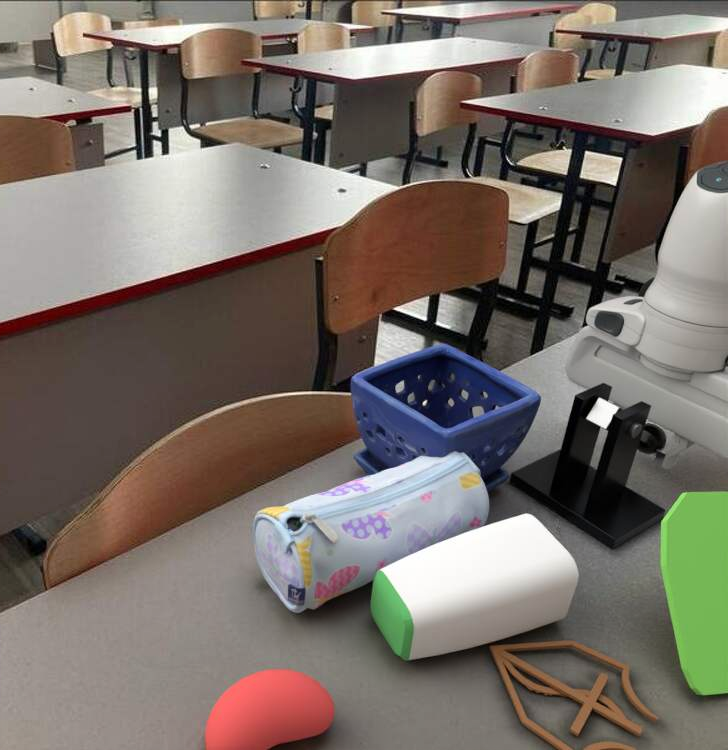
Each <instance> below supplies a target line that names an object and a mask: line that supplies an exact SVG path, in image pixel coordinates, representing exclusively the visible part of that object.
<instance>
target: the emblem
mask: <svg viewBox="0 0 728 750" xmlns="http://www.w3.org/2000/svg"><path fill="white" fill-rule="evenodd" d="M563 648H571V649H573V650H576V651H578V652H580V653H582V654H585V655H587V656H589V657H590V658H593V659H595V660H597V661H599V662H602V663H603V664H606V665H608V666H611V667H612V668H615V669H616V670H619V671H621V677H620V679H621V685H622V688H623V691H624V693H625V695H626V697H627V698H628V700H629V701H630V703H631V704H632V705H633V706H634V707H635V708H636V710H638V711H639V712H640V713H641V714H643V716H645V717H646V718H648V719H649V720H652V721H653V722H656V723H657V722H658V720H659V717H658V716H657V715H656V714H654V713H653V712H652V711H651V710H649V709H648V708H647V707H646V706H645V705H644V704H643V703H642V702H641V700H640V698H638V696H637V695H636V693H635V691H634V690H633V688H632V685H631V682H630V668H631V666H630V665H628V664H625V663H623V662H621V661H618V660H617V659H614V658H612V657H610V656H608V655H606V654H604V653H601V652H600V651H597V650H595V649H594V648H590V647H588V646H586V645H584V644H582V643H580V642H577V641H575V640H573V639H568V640H555V641H541V642H540V641H539V642H526V643H525V642H524V643H511V644H498V645H490V646H489V651H490V653H491V655H492V658H493V660H494V662H495V664H496V667H497V670H498V671H499V674H500V676H501V678H502V681H503V683H504V686H505V688H506V690H507V692H508V695H509V697H510V700H511V702H512V704H513V707H514V709H515V712H516V713H517V715H518V719H519V720H520V723H521V725H522V726H523V727H525V728H527V729H528V730H529V731H531V732H532V733H534V734H535V735H537V736H539V737H540V738H541V739H543V740H544V741H545V742H547V743H548V744H550V746H551V745H552V747H554V748H556V749H557V750H574V748H571V747H570V746H569V745H567V744H566V743H564V742H563V741H562V740H560V739H558V738H557V737H556V736H555V735H553V734H551V733H550V732H549V731H547V730H545V729H544V728H543V727H541V726H540V725H539V724H537V723H535V722H534V721H532V720H531V719H529V718H528V717H527V714H526V712H525V710H524V707H523V705H522V703H521V701H520V699H519V696H518V694H517V692H516V690H515V687H514V684H513V682H512V680H511V678H510V675H509V673H510V674H511V675H512V677H514V678H515V679H516V680H517V681H518V682H519V683H520V684H521V685H523V686H525V688H527V689H528V690H529V691H531V692H532V691H534V692H536V693H537V694H543V695H544V696H550V697H552V696H561V697H563V698H565V697H567V698H570V699H572V700H574V701H576V702H577V703H579V704H580V705H582V706H581V708H580V709H579V712H578V714H577V715H576V717H575V719H574V721H573V722H572V725H571V726H570V728H569V733H571V734H573V735H574V736H576V737H578V736H580V733H581V731H582V729H583V727H584V726H585V724H586V722H587V720H588V718H589V716H590V714H591V712H592V711H593V712H594V713H596V714H598V715H600V716H603V717H604V718H606V719H607V720H609V721H610V722H612V723H614V724H617V725H618V726H619V727H621V728H623V729H625V730H626V731H628V732H630V733H631V734H634V735H635V736H637V737H640V736H641V734H642V732H643V729H644V727H642V726H640V725H639V724H637V723H635V722H634V721H632V720H629V719H628V718H627V717H626V716H625V714H624V712H623V711H622V709H621V708H620V707H618V705H617V704H616V703H615V702H614V701H613V700H612V699H611V698H609V697H607V696H605V695H604V694H602V692H603V689H604V688H605V687H606V684H607V683H608V680H609V679H610V677H609V676H608V675H607V674H605V673H603V672H600V673H599V675H598V677H597V679H596V680H595V682H594V684H593V686H592V688H591V690H588V689H580V688H572V687H570V686H569V685H567V684H565V683H563V682H562V681H560V680H557V679H556V678H554V677H552V676H551V675H549V674H547V673H546V672H544V671H542V670H540V669H538V668H536V667H535V666H533V665H531V664H529V663H527V662H526V661H524V660H522V659H520V658H519V657H518V656H515V655H513V654H512V653H510V652H524V651H536V650H537V651H538V650H550V649H563ZM515 667H516V668H517V669H516V668H515ZM518 669H519V670H521V671H522V672H525V673H526V674H528V675H529V676H531V677H533V678H535V679H537V680H538V681H540V682H542V683H543V684H546V685H547V686H544V685H540V684H538V683H534V682H533V681H531V680H530V679H528V678H526V677H525V676H523V675H522V673H520V672H519V671H518ZM507 671H508V672H509V673H508V672H507ZM548 686H549V687H548ZM597 701H598V702H597ZM602 704H603V705H602ZM582 750H638V749H637V748H635V747H633V746H630V745H629V744H625V743H622V742H615V741H599V742H593V743H592V744H589V745H587V746H586V747H584V748H583V749H582Z"/></svg>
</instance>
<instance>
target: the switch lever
mask: <svg viewBox="0 0 728 750" xmlns="http://www.w3.org/2000/svg"><path fill="white" fill-rule="evenodd" d="M622 410H623V409H622V408H620V407H618V406H616V405H614V404H613V402H611V401H609V400H608V401H606V400H604V399H602V398H600V397H599V398H598V400H597V401H596V403H595V404H594V406H593V408H592V409H591V411H590V413H589V414H588V416H587V417H586V420H588V421H590V422H592V423H594V424H596V425H597V426H599V427H601V428H600V429H603V430H605V431H607V432H608V430H609V426H610V423H611V420H612V416H613V414H615V413H617V412H619V411H622ZM663 429H664V428H663V427H661V426H659V425H657V424H655V423H652V422H651V423H647V422H646V424H645V427H644V430H643V433H642V436H641V439H640V443H639V446H638V449H637V452H640V453H642V454H645V455H655V454H656V451H657V449H659V448H663V447H664V446H665V445H667V434H666V432H665V431H664V430H663Z"/></svg>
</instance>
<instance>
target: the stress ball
mask: <svg viewBox="0 0 728 750" xmlns="http://www.w3.org/2000/svg"><path fill="white" fill-rule="evenodd" d="M335 710H336V709H335V702H334V700H333V698H332V697H331V695H330V693H329V691H328V690H327V689H326V688H325V687H324V686H322V684H321V683H320V682H319V681H317V680H316V679H315V678H312V677H310V676H308V675H307V674H305V673H304V672H300V671H296V670H291V669H287V668H284V669H283V668H281V669H279V668H278V669H264V670H261V671H258V672H257V671H256V672H254V673H252V674H249V675H247V676H245V677H242V678H241V679H239V680H238V681H236V683H234V684H232V685H231V686H230V687H228V688H227V689H226V690H225V691H224V692H223V694H222V695H221V696H220V697H219V698H218V699H217V701H216V702H215V704H214V705H213V708H212V709H211V711H210V714H209V716H208V718H207V721H206V726H205V732H204V740H205V749H206V750H270V749H271V748H273V747H275V746H277V745H281V744H286V743H290V742H295V741H299V740H303V739H308V738H312V737H316V736H318V735H321V734H323V733H324V732H325V731H326V730H328V729H329V728H330V726H331V725H332V723H333V720H334V717H335V713H336V711H335Z"/></svg>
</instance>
